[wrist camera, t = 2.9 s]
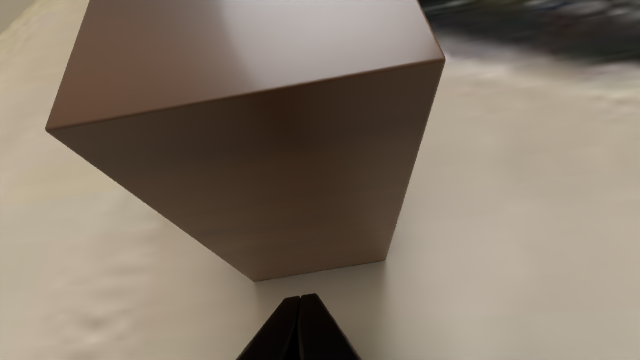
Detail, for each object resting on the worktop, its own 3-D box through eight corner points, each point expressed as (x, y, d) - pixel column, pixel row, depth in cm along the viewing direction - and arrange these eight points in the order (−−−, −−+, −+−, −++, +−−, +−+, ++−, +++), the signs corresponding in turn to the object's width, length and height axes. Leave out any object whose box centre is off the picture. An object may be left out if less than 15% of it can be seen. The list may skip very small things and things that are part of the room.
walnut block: (386, 260, 17) (447, 58, 5) (253, 281, 17) (42, 130, 6) (356, 136, 21) (356, -132, 9) (248, 155, 21) (118, -87, 9)
